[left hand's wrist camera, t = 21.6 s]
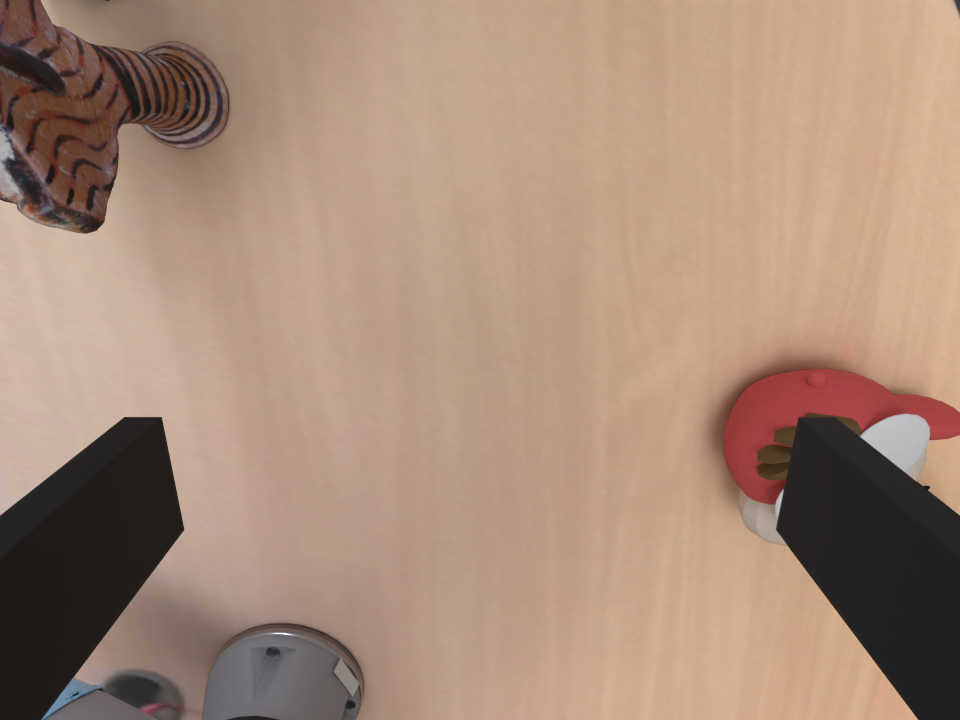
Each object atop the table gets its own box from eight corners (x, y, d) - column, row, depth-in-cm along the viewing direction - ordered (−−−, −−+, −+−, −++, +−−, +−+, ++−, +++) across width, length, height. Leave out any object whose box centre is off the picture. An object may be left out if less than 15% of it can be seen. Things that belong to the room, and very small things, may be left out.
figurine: (72, 13, 41) (-817, -253, 13) (165, -45, 40) (-588, -476, 12) (198, 213, 46) (-253, 339, 18) (285, 167, 44) (-49, 221, 16)
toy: (864, 710, 53) (732, 483, 41) (792, 619, 62) (668, 413, 50) (1060, 601, 51) (982, 329, 39) (956, 524, 60) (868, 286, 48)
